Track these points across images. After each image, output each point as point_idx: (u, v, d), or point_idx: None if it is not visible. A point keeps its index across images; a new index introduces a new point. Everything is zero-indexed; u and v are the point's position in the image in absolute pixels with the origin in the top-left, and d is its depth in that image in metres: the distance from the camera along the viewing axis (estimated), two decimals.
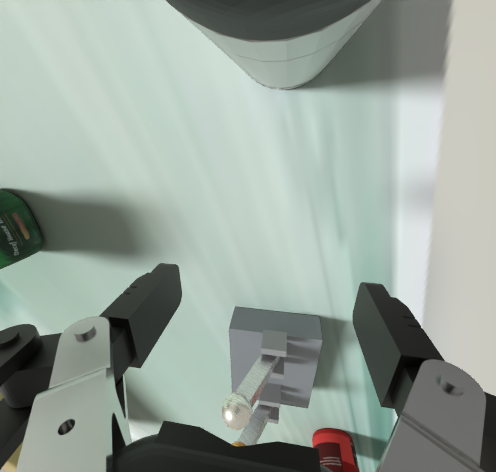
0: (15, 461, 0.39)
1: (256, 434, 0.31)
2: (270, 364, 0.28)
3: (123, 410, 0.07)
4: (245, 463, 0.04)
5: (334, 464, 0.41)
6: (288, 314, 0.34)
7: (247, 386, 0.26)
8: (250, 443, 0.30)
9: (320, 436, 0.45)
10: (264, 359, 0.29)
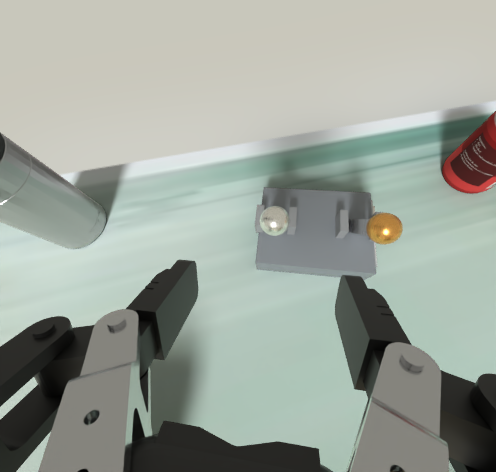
0: None
1: (364, 220, 0.27)
2: None
3: (146, 403, 0.07)
4: (245, 463, 0.04)
5: (468, 156, 0.34)
6: None
7: None
8: (367, 221, 0.26)
9: (456, 183, 0.37)
10: None
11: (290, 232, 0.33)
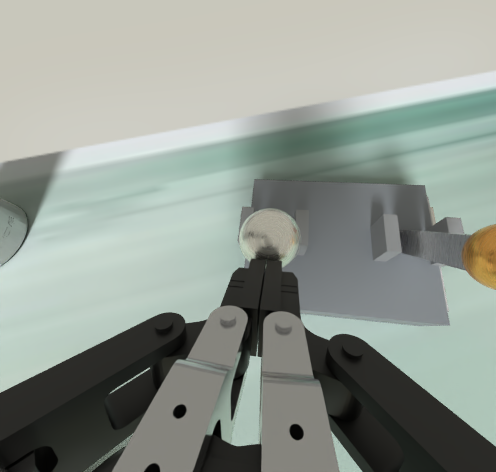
0: None
1: (443, 235, 0.14)
2: None
3: (233, 409, 0.07)
4: (245, 463, 0.04)
5: None
6: None
7: None
8: (458, 238, 0.13)
9: None
10: None
11: (298, 252, 0.20)
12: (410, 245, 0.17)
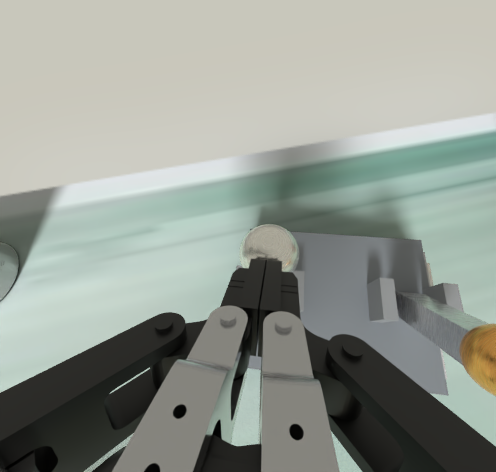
0: None
1: (441, 317, 0.14)
2: None
3: (233, 409, 0.07)
4: (245, 463, 0.04)
5: None
6: None
7: None
8: (455, 328, 0.12)
9: None
10: None
11: None
12: (407, 313, 0.17)
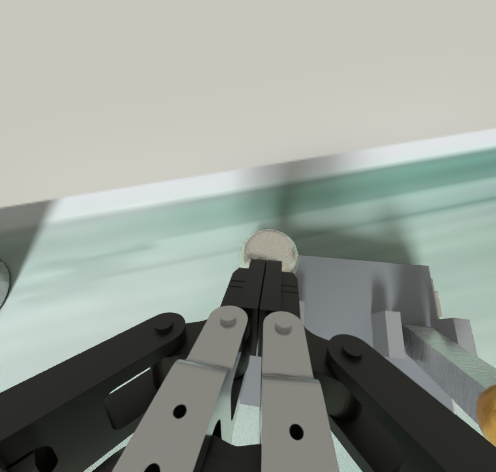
0: None
1: (453, 365, 0.13)
2: None
3: (233, 409, 0.07)
4: (245, 463, 0.04)
5: None
6: None
7: None
8: (470, 382, 0.11)
9: None
10: None
11: None
12: (415, 350, 0.16)
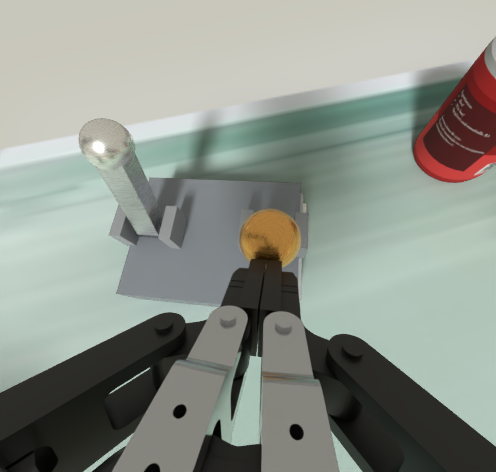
0: None
1: None
2: None
3: (233, 409, 0.07)
4: (245, 463, 0.04)
5: (446, 124, 0.22)
6: None
7: None
8: None
9: (432, 167, 0.25)
10: None
11: (171, 245, 0.21)
12: None
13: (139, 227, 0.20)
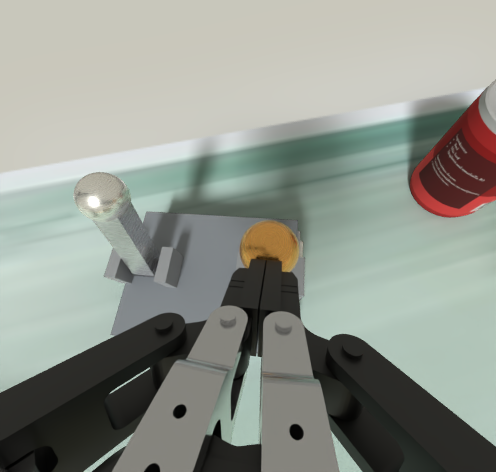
0: None
1: None
2: None
3: (233, 409, 0.07)
4: (245, 463, 0.04)
5: (441, 164, 0.22)
6: None
7: None
8: None
9: (428, 202, 0.25)
10: None
11: (167, 285, 0.21)
12: None
13: (134, 268, 0.20)
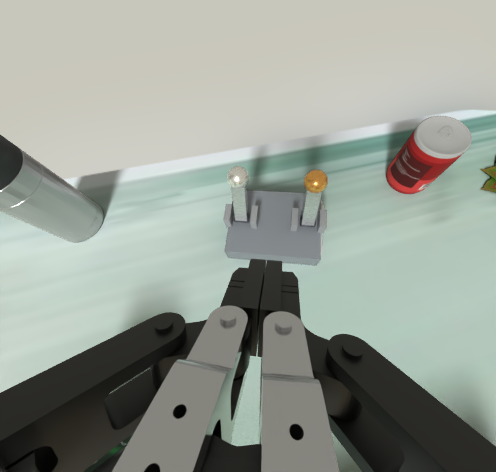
0: None
1: (305, 194, 0.36)
2: None
3: (233, 409, 0.07)
4: (245, 463, 0.04)
5: (400, 163, 0.41)
6: None
7: None
8: (306, 188, 0.35)
9: (395, 185, 0.44)
10: None
11: (253, 226, 0.40)
12: (302, 214, 0.38)
13: (238, 216, 0.39)
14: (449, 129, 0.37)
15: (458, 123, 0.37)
